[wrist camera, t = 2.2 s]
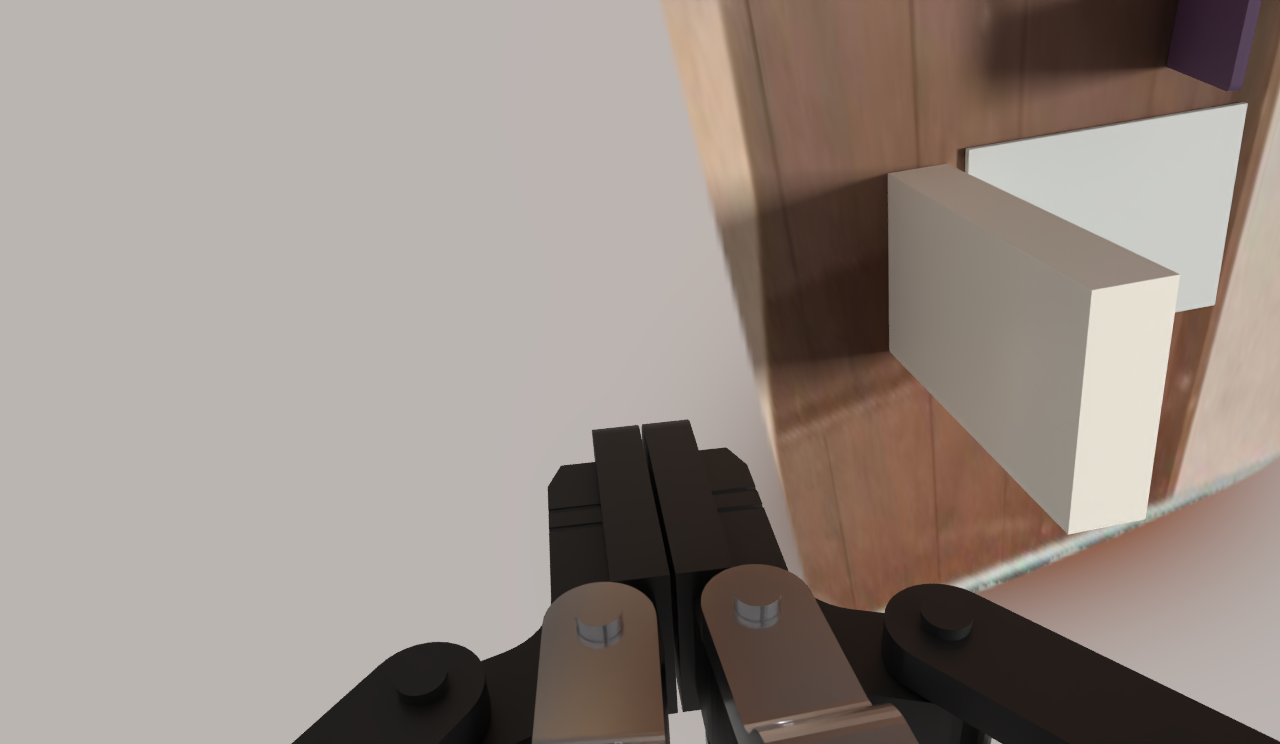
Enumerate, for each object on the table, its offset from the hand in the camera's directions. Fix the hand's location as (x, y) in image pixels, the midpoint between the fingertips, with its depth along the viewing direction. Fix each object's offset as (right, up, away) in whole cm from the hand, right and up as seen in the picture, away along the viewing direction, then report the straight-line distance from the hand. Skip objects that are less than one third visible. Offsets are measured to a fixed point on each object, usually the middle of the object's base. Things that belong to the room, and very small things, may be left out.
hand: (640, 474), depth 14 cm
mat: (+20, +8, +25) cm, 33 cm away
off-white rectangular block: (+12, +6, +24) cm, 28 cm away
